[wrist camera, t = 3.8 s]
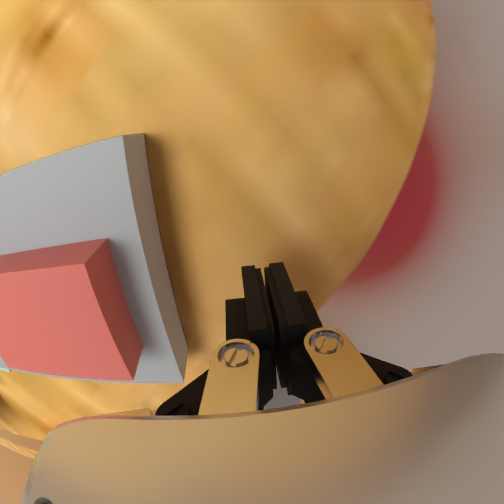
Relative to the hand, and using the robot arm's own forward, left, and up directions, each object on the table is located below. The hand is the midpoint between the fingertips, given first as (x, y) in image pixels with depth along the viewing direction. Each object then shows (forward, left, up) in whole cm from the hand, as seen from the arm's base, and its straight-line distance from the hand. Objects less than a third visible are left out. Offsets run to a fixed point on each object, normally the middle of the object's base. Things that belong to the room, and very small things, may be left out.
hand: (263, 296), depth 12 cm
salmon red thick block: (0, -11, -1) cm, 11 cm away
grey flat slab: (-1, -13, -4) cm, 13 cm away
